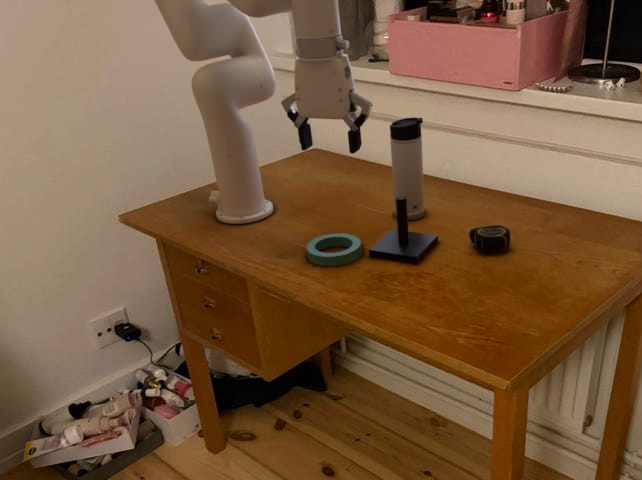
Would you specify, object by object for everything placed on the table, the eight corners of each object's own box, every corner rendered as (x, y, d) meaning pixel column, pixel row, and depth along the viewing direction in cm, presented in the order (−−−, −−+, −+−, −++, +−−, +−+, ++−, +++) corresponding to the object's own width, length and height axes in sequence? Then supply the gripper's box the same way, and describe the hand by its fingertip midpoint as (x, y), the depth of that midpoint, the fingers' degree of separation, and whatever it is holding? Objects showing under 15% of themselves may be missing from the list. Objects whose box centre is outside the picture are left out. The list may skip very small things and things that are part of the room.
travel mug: (423, 221, 146) (419, 123, 135) (392, 220, 147) (386, 123, 136) (428, 209, 151) (424, 114, 140) (398, 209, 152) (392, 115, 141)
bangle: (297, 261, 134) (296, 252, 133) (325, 239, 142) (324, 230, 140) (345, 269, 130) (344, 259, 129) (371, 246, 137) (370, 237, 136)
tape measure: (503, 239, 136) (503, 220, 134) (514, 253, 130) (515, 234, 128) (468, 243, 135) (468, 225, 133) (479, 258, 130) (479, 239, 128)
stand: (369, 257, 134) (364, 204, 128) (392, 236, 141) (388, 185, 135) (417, 264, 130) (414, 210, 124) (438, 242, 137) (436, 190, 131)
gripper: (375, 43, 117) (383, 146, 127) (285, 43, 123) (298, 140, 133) (357, 52, 111) (366, 159, 121) (263, 52, 118) (279, 153, 127)
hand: (330, 149), depth 127 cm, fingers open, 9 cm apart
